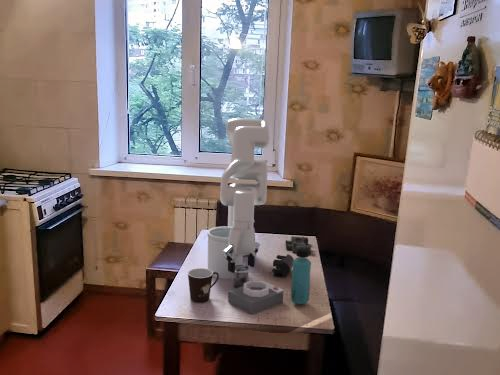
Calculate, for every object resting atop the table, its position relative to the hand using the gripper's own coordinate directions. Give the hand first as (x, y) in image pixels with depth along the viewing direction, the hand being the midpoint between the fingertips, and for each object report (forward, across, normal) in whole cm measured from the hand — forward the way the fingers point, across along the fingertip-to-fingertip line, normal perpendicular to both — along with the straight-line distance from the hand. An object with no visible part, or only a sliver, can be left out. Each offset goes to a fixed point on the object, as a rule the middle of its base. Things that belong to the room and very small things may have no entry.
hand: (241, 269), depth 167 cm
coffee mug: (+8, +16, -1) cm, 18 cm away
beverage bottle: (+8, -8, +22) cm, 25 cm away
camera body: (+8, +3, +12) cm, 15 cm away
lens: (+7, -1, -1) cm, 8 cm away
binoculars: (+7, -52, -18) cm, 55 cm away
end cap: (+7, -24, 0) cm, 25 cm away
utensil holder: (+7, -5, -15) cm, 17 cm away
